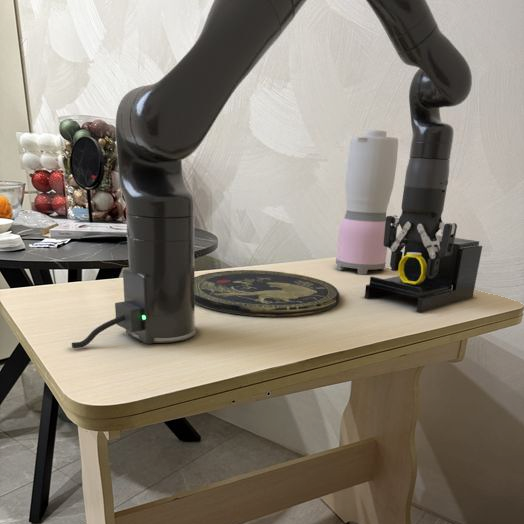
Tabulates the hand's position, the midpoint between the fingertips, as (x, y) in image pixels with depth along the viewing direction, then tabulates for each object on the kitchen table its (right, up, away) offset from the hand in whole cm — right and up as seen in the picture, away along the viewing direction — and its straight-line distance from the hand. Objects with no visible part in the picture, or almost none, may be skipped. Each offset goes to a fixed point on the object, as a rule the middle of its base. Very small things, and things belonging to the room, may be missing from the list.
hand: (412, 274), depth 101 cm
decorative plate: (-29, -4, +1) cm, 30 cm away
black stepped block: (+3, -4, +5) cm, 7 cm away
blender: (-4, +6, +31) cm, 31 cm away
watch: (0, -2, +1) cm, 2 cm away
